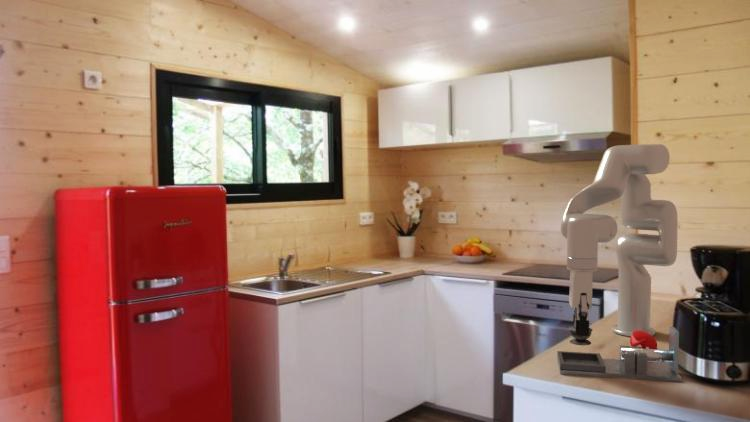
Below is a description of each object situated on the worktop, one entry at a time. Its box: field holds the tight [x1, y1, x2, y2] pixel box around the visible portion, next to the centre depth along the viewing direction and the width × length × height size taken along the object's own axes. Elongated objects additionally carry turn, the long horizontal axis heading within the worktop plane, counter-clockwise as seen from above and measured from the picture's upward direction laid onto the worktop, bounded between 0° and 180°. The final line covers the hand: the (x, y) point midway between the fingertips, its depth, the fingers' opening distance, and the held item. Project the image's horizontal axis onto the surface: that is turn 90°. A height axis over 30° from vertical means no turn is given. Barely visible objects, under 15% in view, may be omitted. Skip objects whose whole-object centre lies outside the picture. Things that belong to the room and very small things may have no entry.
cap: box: [629, 330, 659, 350], centre depth 171 cm, size 8×6×6 cm
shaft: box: [619, 326, 680, 372], centre depth 154 cm, size 5×13×10 cm, turn 77°
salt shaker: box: [568, 298, 593, 346], centre depth 157 cm, size 6×6×12 cm
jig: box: [556, 345, 683, 383], centre depth 156 cm, size 12×28×6 cm, turn 77°
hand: (580, 331), depth 158 cm, fingers closed on salt shaker, 5 cm apart
